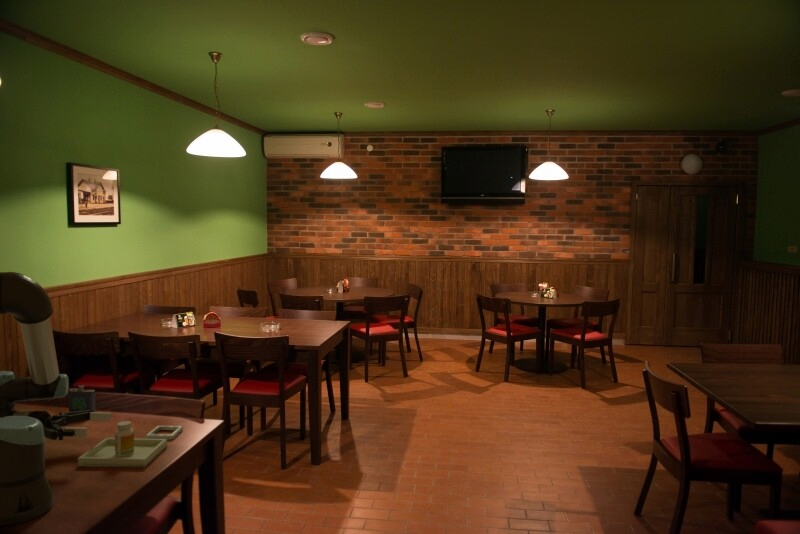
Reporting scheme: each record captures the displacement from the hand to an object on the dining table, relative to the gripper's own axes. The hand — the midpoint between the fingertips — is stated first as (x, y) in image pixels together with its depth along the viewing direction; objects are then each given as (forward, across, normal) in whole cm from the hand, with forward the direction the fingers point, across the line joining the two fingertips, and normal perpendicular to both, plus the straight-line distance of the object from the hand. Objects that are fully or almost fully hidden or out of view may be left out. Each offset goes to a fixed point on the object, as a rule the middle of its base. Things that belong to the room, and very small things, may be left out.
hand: (99, 424), depth 172 cm
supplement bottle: (+8, 0, -9) cm, 12 cm away
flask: (-26, -36, -10) cm, 45 cm away
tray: (+8, 0, -10) cm, 13 cm away
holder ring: (+13, -18, -10) cm, 24 cm away
